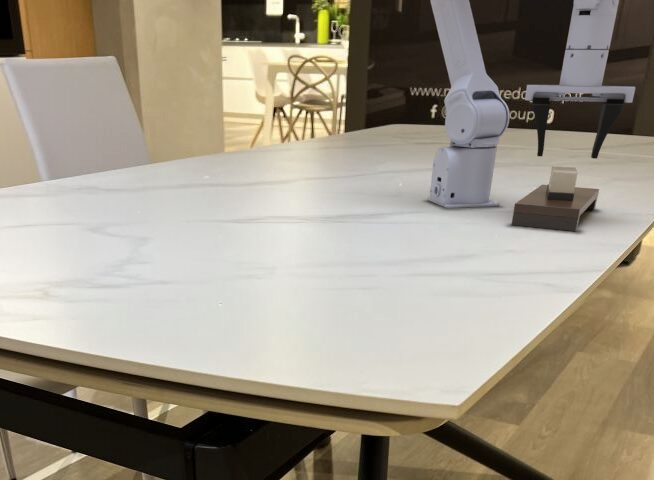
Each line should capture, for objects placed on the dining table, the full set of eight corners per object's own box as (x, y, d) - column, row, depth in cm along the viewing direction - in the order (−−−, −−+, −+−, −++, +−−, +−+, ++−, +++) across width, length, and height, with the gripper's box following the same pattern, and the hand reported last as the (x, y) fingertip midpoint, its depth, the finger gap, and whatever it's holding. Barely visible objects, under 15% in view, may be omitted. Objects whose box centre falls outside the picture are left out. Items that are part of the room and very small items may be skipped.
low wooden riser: (575, 231, 105) (579, 209, 103) (511, 225, 109) (514, 203, 107) (595, 208, 120) (599, 188, 119) (538, 203, 124) (541, 184, 122)
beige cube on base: (573, 200, 109) (578, 172, 107) (547, 199, 110) (552, 171, 108) (570, 192, 116) (575, 165, 114) (546, 191, 116) (551, 164, 115)
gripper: (639, 50, 105) (615, 155, 112) (532, 49, 108) (516, 151, 115) (646, 50, 99) (621, 161, 106) (533, 49, 102) (516, 157, 109)
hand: (566, 156), depth 110 cm, fingers open, 7 cm apart
